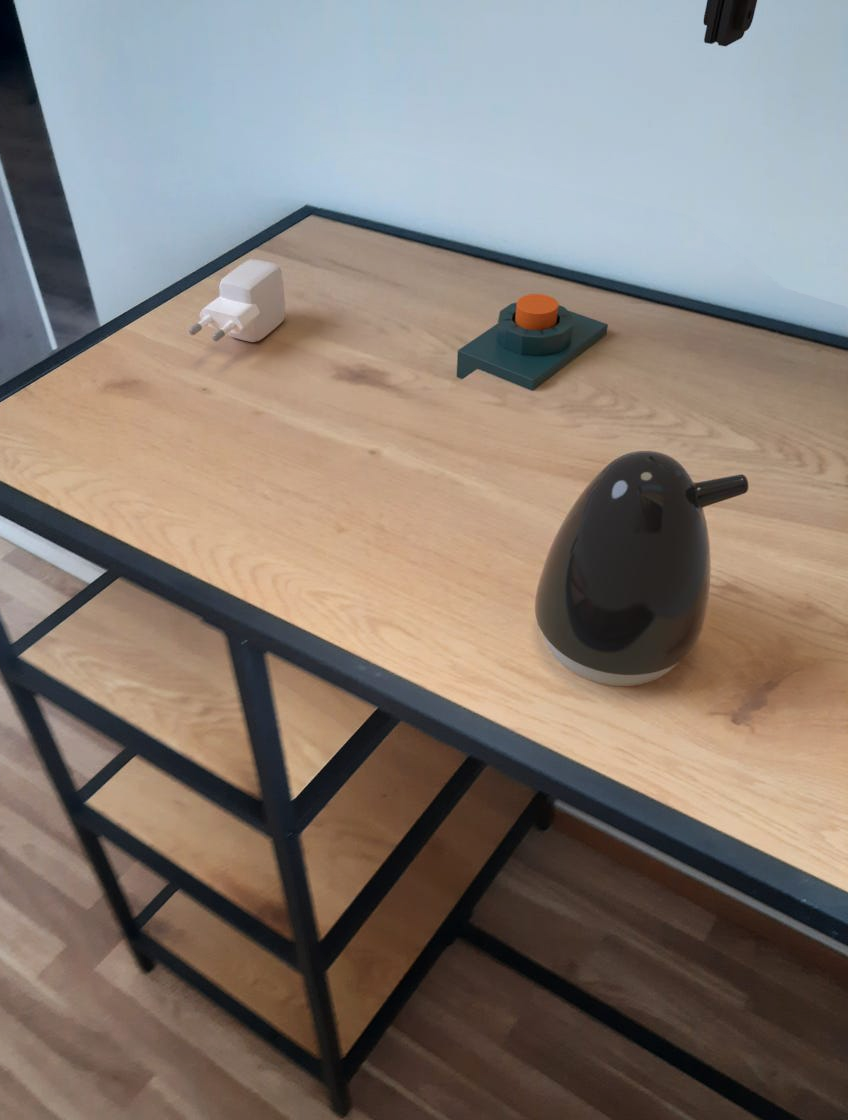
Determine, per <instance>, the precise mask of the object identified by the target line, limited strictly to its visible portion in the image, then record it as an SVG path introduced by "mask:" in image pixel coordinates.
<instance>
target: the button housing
mask: <svg viewBox="0 0 848 1120" xmlns="http://www.w3.org/2000/svg"><path fill="white" fill-rule="evenodd" d="M516 305H517V302H512V303H510V304H508V305H507V306H505V307H503V308H502V309H501V310H500V311H499V314H498V319H497V323H496V324H495V325H493V326H491V327H490V328H489V329H487V330H485V331H484V332H483V333H481V334H480V335H478V336H477V337H475V338H474V339H473V340H470V341H469V342H468V343H466V344H465V345H463V346H462V347H460V348H459V349H458V350H457V356H456V357H457V359H456V378H457V379H460V380H464V379H465V378H467V377H468V376H469V375H471V374H472V373H474V372H475V371H476V370H479V371H482V372H485V373H487V374H489V375H492V376H494V377H497V378H500V379H502V380H504V381H507V382H509V383H511V384H515V385H516V386H519V387H521V388H524V389H526V390H529V391H531V392H533V391H535V390H536V389H537V388H538V387H540V386H541V385H542V384H544V383H545V382H546V381H548V380H549V379H551V378H552V377H553V376H554V375H556V374H557V373H558V372H560V371H561V370H562V369H563V368H565V367H566V366H567V365H569V364H570V363H572V361H574V360H576V359H577V358H578V357H579V356H580V355H582V354H584V352H586V351H587V350H588V349H589V348H591V347H592V346H593V345H595V344H596V343H598V342H599V341H600V340H601V339H603V338H604V337H605V336H606V335H607V333H608V327H609V324H608V323H606V322H603V321H600V320H597V319H594V318H592V317H588V316H585V315H583V314H580V313H576V312H574V311H571V310H569V309H567V308H566V307H565V306H562V305H560V304H558V305H559V306H558V314H557V322H556V325H555V326H554V327H553V328H551V329H546V330H541V331H539V330H528V329H525V328H522V327H520V326H517V325H516V323H515V316H516Z"/></svg>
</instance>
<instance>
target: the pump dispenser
mask: <svg viewBox="0 0 848 1120" xmlns="http://www.w3.org/2000/svg"><path fill="white" fill-rule="evenodd" d="M748 491H749V481H748V478H747V476H746V475H744V474H741V473H740V474H736V475H730V476H725V477H724V476H723V477H719V478H714V479H709V480H704V481H697V482H694V481H693V480H692V477H691V476H690V474H689V472H688V471H687V470H686V469H685V468H684V466H683V465H682V464H681V463H680V462H679V461H678V460H676V459H675V458H673V457H672V456H670V455H668V454H665V453H663V452H658V451H654V450H638V451H633V452H628V453H625V454H623V455H621V456H619V457H617V458H615V459H614V460H612V461H611V462H610V463H608V464H607V465H606V466H605V467H603V468H602V469H601V470H600V471H599V472H598V473H597V474H596V475H595V476H594V477H593V478H592V479H591V481H590V482H589V483H588V484H587V485H586V487H585V488H584V489H583V490H582V492H581V493H580V495H579V496H578V498H577V499H576V500H575V502H574V503H573V505H572V506H571V507H570V509H569V510H568V513H567V514H566V515H565V517H564V519H563V520H562V523H561V524H560V526H559V528H558V530H557V532H556V534H555V536H554V538H553V540H552V543H551V544H550V545H551V546H550V548H549V550H548V552H547V554H546V558H545V560H544V561H545V562H544V563H543V567H542V569H541V573H540V575H539V579H538V583H537V587H536V593H535V599H534V615H535V619H536V623H537V625H538V628H539V630H540V631H541V634H542V636H543V639H544V642H545V644H546V646H547V648H548V650H549V651H550V653H551V654H552V656H553V657H554V658H555V660H557V662H559V663H560V664H561V665H562V666H563V667H564V668H565V669H567V670H568V671H569V672H571V673H572V674H575V675H576V676H578V677H580V678H582V679H585V680H587V681H590V682H592V683H596V684H599V685H605V686H612V687H633V686H640V685H645V684H648V683H651V682H654V681H656V680H657V679H659V678H662V677H663V676H665V675H667V674H668V673H669V672H670V671H671V670H673V669H674V667H676V666H677V664H679V663H680V662H681V661H683V660H684V659H686V658H687V657H688V656H689V655H690V654H691V653H692V651H693V650H694V649H695V648H696V646H697V644H698V642H699V640H700V638H701V634H702V631H703V629H704V625H705V621H706V616H707V612H708V603H709V596H710V588H711V573H712V566H711V565H712V563H711V562H712V560H711V559H712V558H711V556H712V555H711V544H710V536H709V529H708V528H709V527H708V524H707V519H706V515H705V511H704V508H706V507H709V506H711V505H714V504H717V503H722V502H723V501H727V500H729V499H730V500H731V499H733V498H737V497H739V496H742V495H745V494H747V493H748Z"/></svg>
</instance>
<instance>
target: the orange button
mask: <svg viewBox="0 0 848 1120" xmlns="http://www.w3.org/2000/svg"><path fill="white" fill-rule="evenodd" d="M516 303H517V305H516V316H515V323H516V325H517V326H520V327H522V328H525V329H528V330H539V331H541V330H546V329H551V328H553V327H554V326H555V325H556V322H557V314H558V306H559V305H560V304H559V302H558V300H557V299H556V298H554V297H553V296H550V295H547V294H543V293H532V294H526V295H523V296H521V297H519V298H518V300H517V301H516Z"/></svg>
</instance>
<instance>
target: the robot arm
mask: <svg viewBox="0 0 848 1120" xmlns="http://www.w3.org/2000/svg"><path fill="white" fill-rule="evenodd" d="M757 3H758V0H706V4H705V10H704V15H703V25H704V26H706V28H705V33H704V37H703V38H704V39H703V42H704V44H710V45H713V44H715V43H717V45H718V46H720V47H728V46H730V45H731V44H733V43H735V42H737V41H739V40H741V39H743V37H744V35H745V32H747V31H748V30H749V29H750V27H751V26H752V24H753V21H754V16H755V11H756V8H757Z"/></svg>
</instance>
